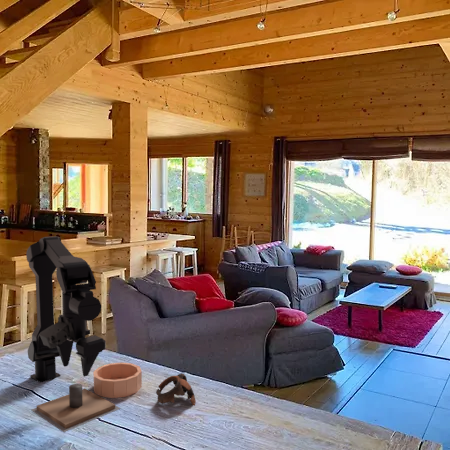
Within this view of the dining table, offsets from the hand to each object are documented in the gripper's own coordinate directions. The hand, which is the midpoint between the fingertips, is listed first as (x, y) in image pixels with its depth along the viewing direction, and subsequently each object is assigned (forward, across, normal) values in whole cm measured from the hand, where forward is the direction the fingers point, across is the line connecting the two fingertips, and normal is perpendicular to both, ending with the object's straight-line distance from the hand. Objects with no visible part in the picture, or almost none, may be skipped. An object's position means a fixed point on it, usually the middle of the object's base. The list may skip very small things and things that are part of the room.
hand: (75, 370), depth 123 cm
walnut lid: (+10, 0, 0) cm, 10 cm away
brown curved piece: (+11, +16, +21) cm, 28 cm away
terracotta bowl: (+10, -3, +15) cm, 18 cm away
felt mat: (+10, 0, 0) cm, 10 cm away
